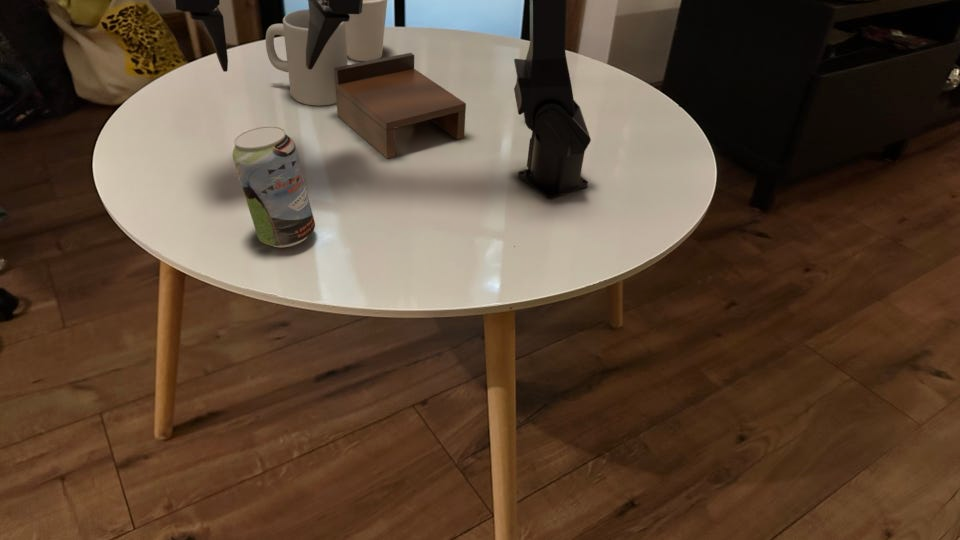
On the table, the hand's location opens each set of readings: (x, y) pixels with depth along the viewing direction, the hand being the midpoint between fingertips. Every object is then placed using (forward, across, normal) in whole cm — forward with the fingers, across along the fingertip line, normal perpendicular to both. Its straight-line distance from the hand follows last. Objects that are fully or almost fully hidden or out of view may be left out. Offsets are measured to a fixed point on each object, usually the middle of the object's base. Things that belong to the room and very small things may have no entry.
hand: (267, 69), depth 76 cm
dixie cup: (+12, -24, -31) cm, 41 cm away
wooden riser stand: (+11, -20, -5) cm, 23 cm away
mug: (+13, -12, -20) cm, 27 cm away
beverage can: (+13, +2, +14) cm, 19 cm away
